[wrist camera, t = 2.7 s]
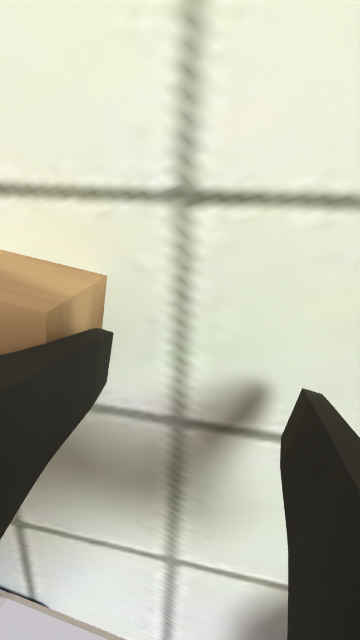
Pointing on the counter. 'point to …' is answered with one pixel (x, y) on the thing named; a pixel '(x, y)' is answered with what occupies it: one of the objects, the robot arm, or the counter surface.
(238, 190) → the counter surface
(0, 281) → the block
